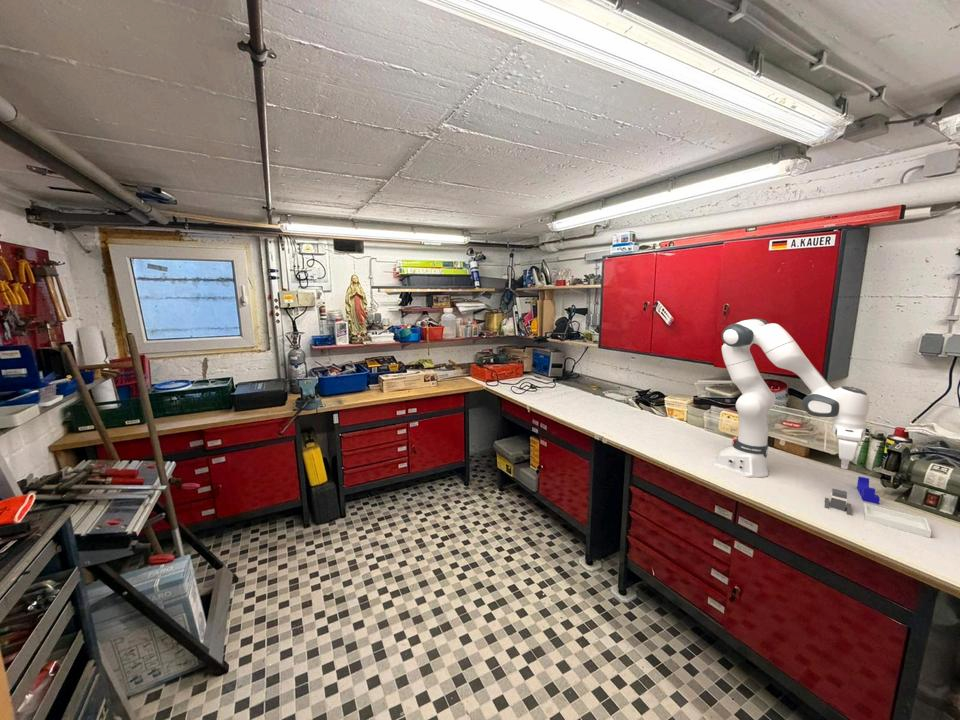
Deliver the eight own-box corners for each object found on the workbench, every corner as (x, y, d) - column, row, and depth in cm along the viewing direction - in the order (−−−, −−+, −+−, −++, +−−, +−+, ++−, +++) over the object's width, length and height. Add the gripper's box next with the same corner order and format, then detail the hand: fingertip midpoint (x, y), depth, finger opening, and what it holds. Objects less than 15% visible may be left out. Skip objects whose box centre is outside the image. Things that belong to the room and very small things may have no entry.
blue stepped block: (878, 505, 144) (880, 491, 144) (862, 501, 147) (864, 487, 146) (871, 492, 154) (873, 479, 153) (856, 489, 157) (858, 476, 156)
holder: (824, 509, 142) (824, 505, 142) (824, 500, 148) (825, 497, 148) (851, 516, 137) (851, 512, 137) (850, 507, 143) (850, 504, 143)
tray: (864, 520, 135) (865, 513, 134) (863, 508, 142) (863, 502, 141) (930, 537, 124) (931, 531, 124) (924, 524, 131) (926, 518, 131)
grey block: (829, 508, 143) (832, 492, 141) (829, 504, 146) (832, 488, 145) (845, 512, 140) (847, 496, 139) (844, 508, 143) (847, 491, 142)
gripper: (836, 421, 147) (832, 453, 149) (836, 435, 133) (832, 470, 135) (859, 424, 143) (854, 457, 145) (861, 439, 128) (856, 475, 130)
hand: (843, 463), depth 140 cm, fingers open, 8 cm apart
